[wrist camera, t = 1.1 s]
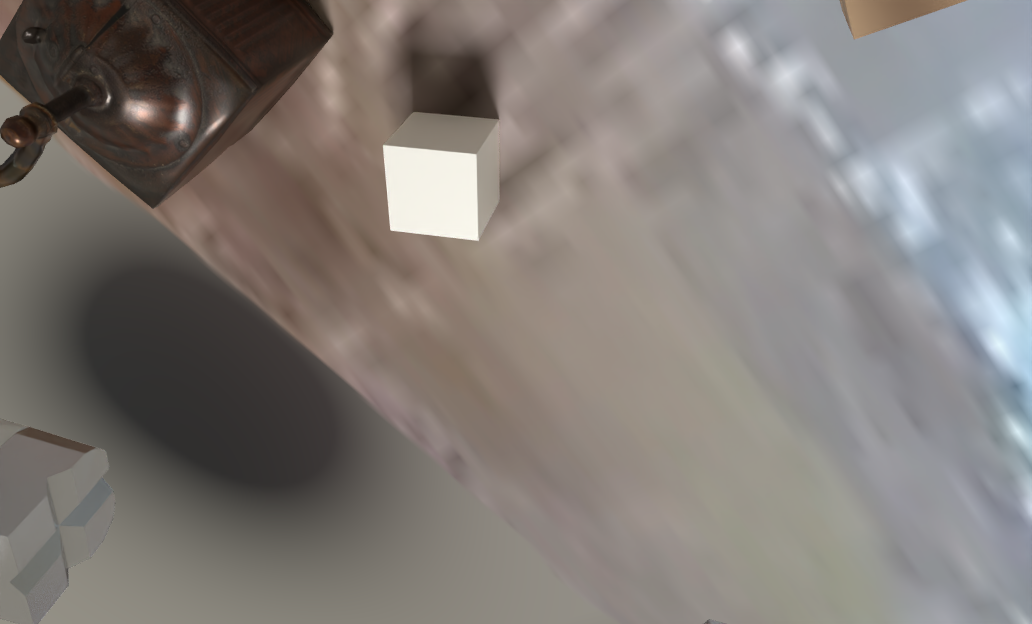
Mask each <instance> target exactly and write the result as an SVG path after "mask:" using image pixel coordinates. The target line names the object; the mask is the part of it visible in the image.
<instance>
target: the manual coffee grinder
mask: <svg viewBox="0 0 1032 624" xmlns="http://www.w3.org/2000/svg"><path fill="white" fill-rule="evenodd" d="M332 35H333V34H332V33H331V31H330V30H329V29H328V28H327V26H326V25H325V24H324V23H323V21H322V20H321V19H320V18H319V17H318V15H317V14H316V13H315V12H314V10H313V9H312V8H311V7H310V5H309V4H308V3H307V2H306V1H305V0H23V2H22V4H21V5H20V7H19V9H18V10H17V12H16V14H15V16H14V17H13V19H12V21H11V22H10V24H9V26H8V27H7V29H6V31H5V32H4V34H3V36H2V38H1V39H0V75H1V76H2V77H3V78H4V79H5V80H6V81H7V82H8V83H9V84H11V85H12V86H13V87H14V88H15V89H16V90H17V91H18V92H19V93H20V94H22V95H23V96H24V97H25V98H26V99H27V100H28V101H29V102H31V104H29V105H27V106H25V107H23V108H22V109H21V111H20V115H19V116H18V115H16V116H13V117H10V118H7V119H6V120H5V122H4V123H3V125H2V126H1V128H0V134H1V138H2V139H3V140H4V141H5V142H6V143H7V144H9V145H11V146H13V147H15V148H16V149H15V151H14V152H13V154H11V155H10V157H9V158H8V159H7V160H6V161H5V162H4V163H3V164H2V165H0V188H1V187H5V186H8V185H12V184H15V183H17V182H19V181H21V180H22V179H23V178H24V177H25V176H26V175H27V174H28V173H29V172H30V171H31V170H32V169H33V167H34V166H35V164H36V163H37V161H38V159H39V158H40V156H41V155H42V153H43V151H44V148H45V145H46V144H47V143H48V142H49V141H50V140H51V137H52V135H53V134H55V133H56V132H57V128H59V129H60V130H61V131H63V132H64V133H65V134H66V135H67V136H68V137H69V138H70V139H71V140H72V141H74V142H75V143H76V144H77V145H78V146H79V147H80V148H82V149H83V150H84V151H85V152H86V153H87V154H88V155H90V156H91V157H92V158H93V159H94V160H95V161H96V162H98V163H99V164H100V165H101V166H102V167H103V168H104V169H106V170H107V171H108V172H109V173H110V174H111V175H113V176H114V177H115V178H116V179H117V180H119V181H120V182H121V183H122V184H124V185H125V186H126V187H127V188H128V189H130V190H131V191H132V192H133V193H134V194H136V195H137V196H138V197H139V198H140V199H142V200H143V201H144V202H145V203H146V204H148V205H149V206H150V207H151V208H153V209H154V208H155V207H157V206H159V205H160V204H161V203H163V202H164V201H165V200H166V199H168V198H169V197H170V196H171V195H173V194H174V193H175V192H176V191H178V190H179V189H180V188H181V187H183V186H184V185H185V184H186V183H188V182H189V181H190V180H191V179H193V178H194V177H195V176H196V175H198V174H199V173H200V172H201V171H202V170H203V169H205V168H206V167H207V166H208V165H209V164H211V163H212V162H213V161H214V160H215V159H216V158H217V157H218V156H219V155H221V154H222V153H223V152H224V151H225V150H226V149H227V148H228V147H229V146H231V145H233V144H234V143H236V142H237V141H238V140H239V139H241V138H242V137H243V136H245V135H246V134H247V133H249V132H250V131H251V130H252V129H253V128H254V126H255V125H256V124H257V123H258V122H259V121H260V120H261V119H262V118H263V117H264V116H265V115H266V114H267V113H268V112H269V111H270V109H271V108H272V107H273V106H274V105H275V104H276V103H277V102H278V100H279V99H280V98H281V97H282V96H283V95H284V94H285V93H286V91H287V90H288V89H289V88H290V87H291V86H292V85H293V84H294V82H295V81H296V80H297V79H298V77H299V76H300V75H301V74H302V72H303V71H304V70H305V69H306V67H307V66H308V65H309V64H310V63H311V61H312V60H313V59H314V58H315V56H316V55H317V54H318V53H319V51H320V50H321V49H322V48H323V46H324V45H325V44H326V43H327V42H328V40H329V39H330V38H331V37H332Z"/></svg>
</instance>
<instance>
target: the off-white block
mask: <svg viewBox="0 0 1032 624" xmlns="http://www.w3.org/2000/svg"><path fill="white" fill-rule="evenodd" d="M383 151H384V162H385V173H386V185H387V196H388V207H389V218H390V230H392V231H400V232H409V233H417V234H426V235H434V236H443V237H452V238H460V239H469V240H477V241H478V240H479V238H480V236H481V235H482V233H483V231H484V229H485V227H486V225H487V223H488V221H489V220H490V218H491V216H492V214H493V212H494V210H495V208H496V207H497V205H498V203H499V201H500V190H499V119H488V118H477V117H466V116H455V115H443V114H432V113H421V112H413V113H412V114H411V115H410V116H409V117H408V118H407V119H406V120H405V121H404V123H403V124H402V125H401V126H400V127H399V128H398V129H397V130H396V131H395V132H394V134H393V135H392V136H391V137H390V138H389V139H388V140H387V141H386V142H385V143H384V145H383Z"/></svg>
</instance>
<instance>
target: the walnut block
mask: <svg viewBox="0 0 1032 624" xmlns="http://www.w3.org/2000/svg"><path fill="white" fill-rule="evenodd" d="M964 1H966V0H840V3H841V7H842V11H843V13H844V16H845V18H846V21H847V23H848V26H849V28H850V31H851V33H852V35H853V38H854V39H857V38H860V37H863V36H866V35H868V34H871V33H874V32H877V31H880V30H883V29H886V28H889V27H892V26H894V25H897V24H900V23H903V22H906V21H909V20H912V19H915V18H917V17H920V16H923V15H926V14H929V13H932V12H935V11H938V10H941V9H943V8H946V7H949V6H952V5H955V4H958V3H961V2H964Z"/></svg>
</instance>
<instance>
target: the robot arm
mask: <svg viewBox="0 0 1032 624" xmlns="http://www.w3.org/2000/svg"><path fill="white" fill-rule="evenodd" d="M108 469H109V463H108V459H107V454H106V451H105V450H102V449H99V448H96V447H92V446H89V445H86V444H83V443H80V442H76V441H72V440H70V439H66V438H63V437H60V436H57V435H53V434H50V433H47V432H44V431H40V430H37V429H34V428H31V427H28V426H24V425H21V424H17V423H14V422H10V421H7V420H4V419H0V619H2V620H7V621H10V622H14V623H18V624H38V623H39V622H40V621H41V619H42V618H43V617H44V616H45V615H46V613H47V612H48V611H49V610H50V608H51V607H52V606H53V604H54V603H55V602H56V601H57V599H58V598H59V597H60V596H61V594H62V593H63V592H64V590H65V589H66V588H67V587H68V585H69V583H68V582H69V580H68V579H69V574H68V569H69V568H71V567H73V566H75V565H77V564H79V563H81V562H83V561H85V560H87V559H89V558H91V556H92V555H93V554H94V552H95V551H96V550H97V548H98V547H99V546H100V544H101V543H102V542H103V540H104V538H105V536H106V534H107V532H108V529H109V527H110V525H111V523H112V521H113V516H114V510H115V497H114V491H113V490H112V489H111V487H110V486H109V485H108V484H107V483H106V482H105V480H104V479H103V478H102V476H103V475H104V474H105V473H106V471H107V470H108ZM703 624H725V623H722V622H718V621H714V620H710V619H709V620H707V621H706V622H705V623H703Z"/></svg>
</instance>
